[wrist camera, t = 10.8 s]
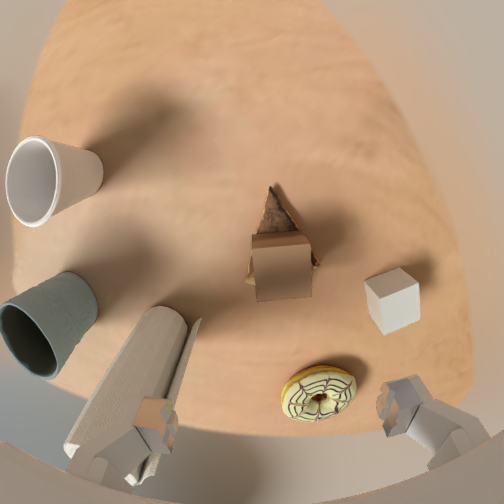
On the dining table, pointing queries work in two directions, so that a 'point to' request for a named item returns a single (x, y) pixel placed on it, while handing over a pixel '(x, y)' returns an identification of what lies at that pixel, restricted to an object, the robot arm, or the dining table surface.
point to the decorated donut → (318, 382)
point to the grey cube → (393, 300)
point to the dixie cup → (49, 178)
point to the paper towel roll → (138, 379)
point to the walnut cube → (281, 265)
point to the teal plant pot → (48, 323)
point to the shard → (275, 228)
